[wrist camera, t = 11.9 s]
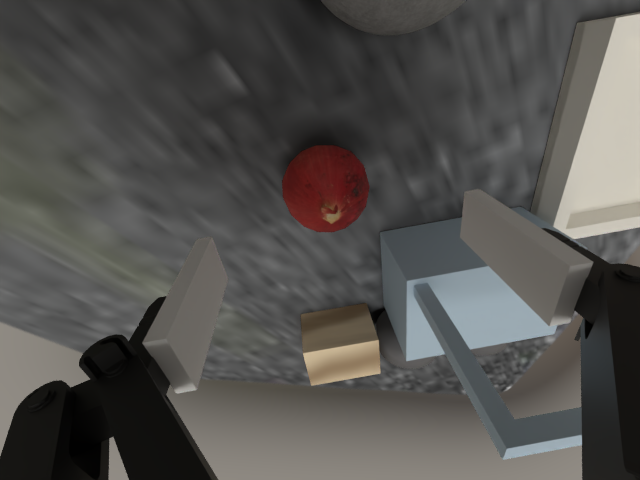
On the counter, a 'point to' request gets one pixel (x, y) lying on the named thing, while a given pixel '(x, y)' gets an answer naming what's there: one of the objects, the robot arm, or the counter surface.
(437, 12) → the decorative ball
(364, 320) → the block
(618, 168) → the tray
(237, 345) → the counter surface
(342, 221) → the red rounded piece
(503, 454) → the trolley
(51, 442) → the robot arm
